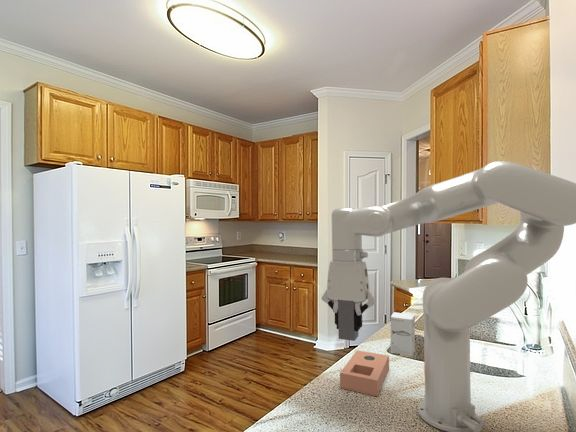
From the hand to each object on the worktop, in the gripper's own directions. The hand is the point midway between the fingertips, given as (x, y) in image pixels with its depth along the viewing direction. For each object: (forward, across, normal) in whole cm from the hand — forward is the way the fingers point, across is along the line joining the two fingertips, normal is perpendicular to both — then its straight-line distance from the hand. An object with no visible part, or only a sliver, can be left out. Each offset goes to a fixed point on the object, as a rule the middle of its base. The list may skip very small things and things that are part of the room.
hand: (348, 328), depth 83 cm
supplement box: (+18, -8, -40) cm, 44 cm away
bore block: (+18, -1, -14) cm, 23 cm away
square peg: (+2, 0, 0) cm, 2 cm away
